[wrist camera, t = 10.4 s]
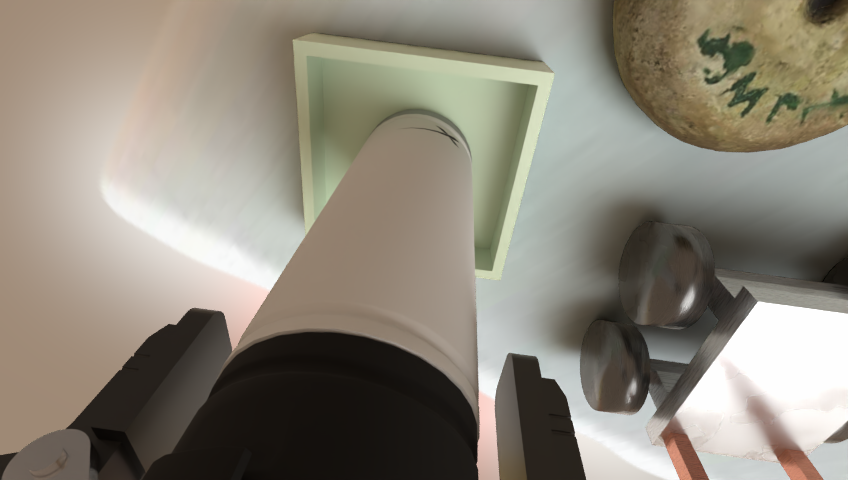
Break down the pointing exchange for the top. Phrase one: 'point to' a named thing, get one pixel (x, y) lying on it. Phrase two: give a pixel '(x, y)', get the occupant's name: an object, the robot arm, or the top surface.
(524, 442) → the robot arm
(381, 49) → the tray
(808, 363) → the trolley
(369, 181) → the travel mug
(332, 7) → the top surface
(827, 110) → the weight
